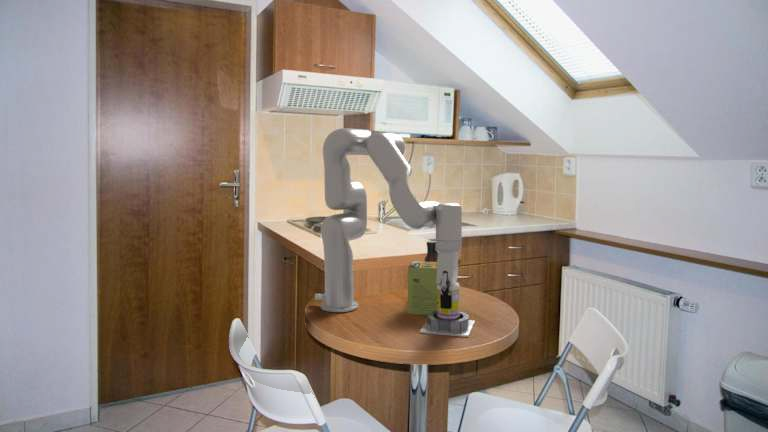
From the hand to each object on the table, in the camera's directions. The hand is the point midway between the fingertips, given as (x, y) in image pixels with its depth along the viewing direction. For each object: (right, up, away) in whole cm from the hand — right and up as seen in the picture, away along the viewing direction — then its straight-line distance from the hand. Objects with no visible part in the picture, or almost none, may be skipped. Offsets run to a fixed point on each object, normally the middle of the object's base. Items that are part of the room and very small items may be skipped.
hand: (448, 304), depth 162 cm
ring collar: (0, -7, +1) cm, 7 cm away
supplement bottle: (0, -4, 0) cm, 4 cm away
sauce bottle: (-1, -3, +39) cm, 39 cm away
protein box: (-3, -5, +18) cm, 19 cm away
